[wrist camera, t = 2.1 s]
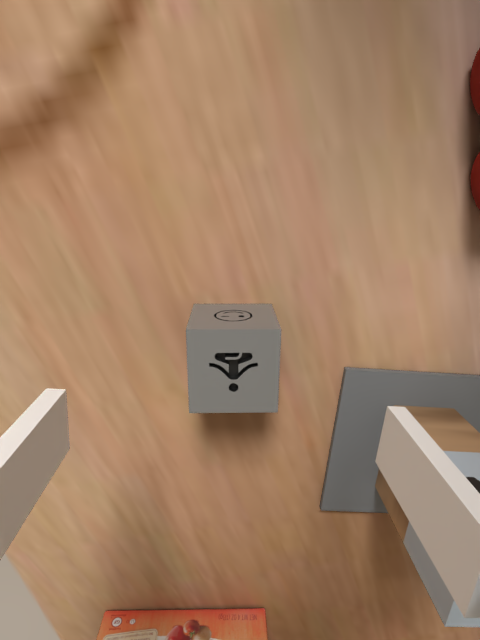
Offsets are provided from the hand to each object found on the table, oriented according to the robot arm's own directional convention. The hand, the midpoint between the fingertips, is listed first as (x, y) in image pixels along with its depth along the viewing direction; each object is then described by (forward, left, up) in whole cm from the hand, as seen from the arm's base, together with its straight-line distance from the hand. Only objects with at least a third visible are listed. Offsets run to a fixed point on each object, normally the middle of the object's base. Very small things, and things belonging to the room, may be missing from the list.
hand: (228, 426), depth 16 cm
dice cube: (0, 0, -11) cm, 11 cm away
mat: (+8, +14, -10) cm, 19 cm away
